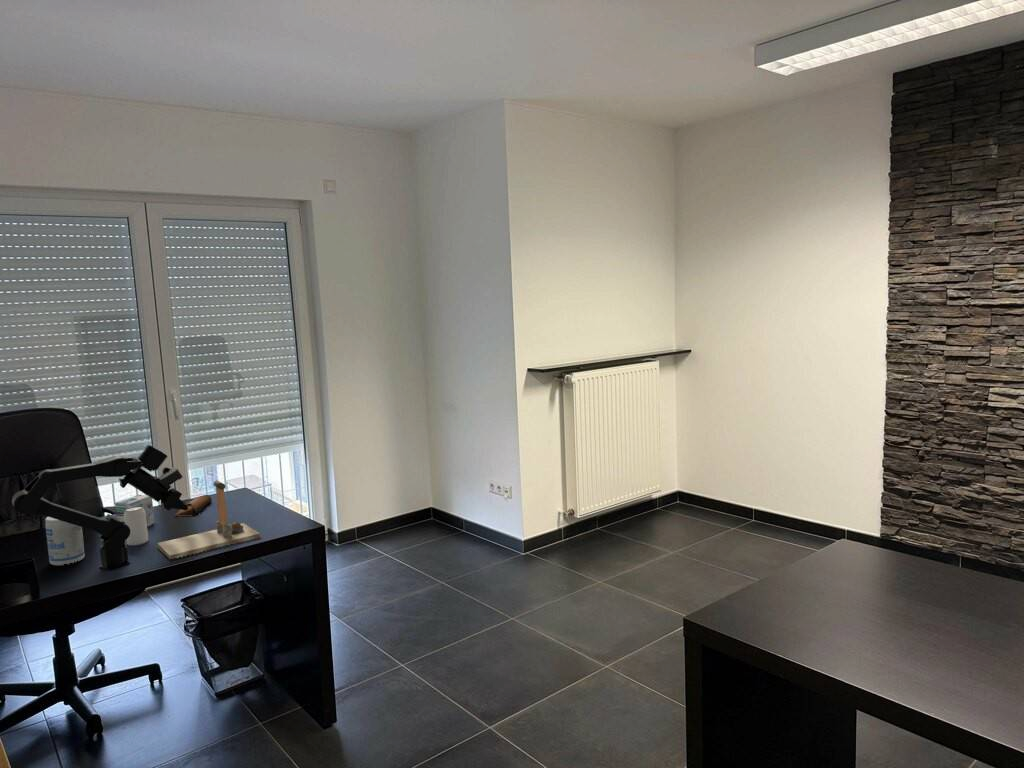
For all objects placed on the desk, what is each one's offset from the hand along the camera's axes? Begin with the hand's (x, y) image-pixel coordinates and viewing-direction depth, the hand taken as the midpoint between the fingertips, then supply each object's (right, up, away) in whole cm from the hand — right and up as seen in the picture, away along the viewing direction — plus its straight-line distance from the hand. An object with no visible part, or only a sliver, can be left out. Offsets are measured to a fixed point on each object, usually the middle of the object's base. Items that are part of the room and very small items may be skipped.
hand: (187, 508), depth 232 cm
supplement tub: (-35, -16, -6) cm, 39 cm away
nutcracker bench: (+5, -12, +5) cm, 14 cm away
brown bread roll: (-18, -9, +46) cm, 50 cm away
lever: (+9, -7, +8) cm, 13 cm away
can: (-20, -13, +9) cm, 26 cm away
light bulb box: (-30, -11, +26) cm, 41 cm away
